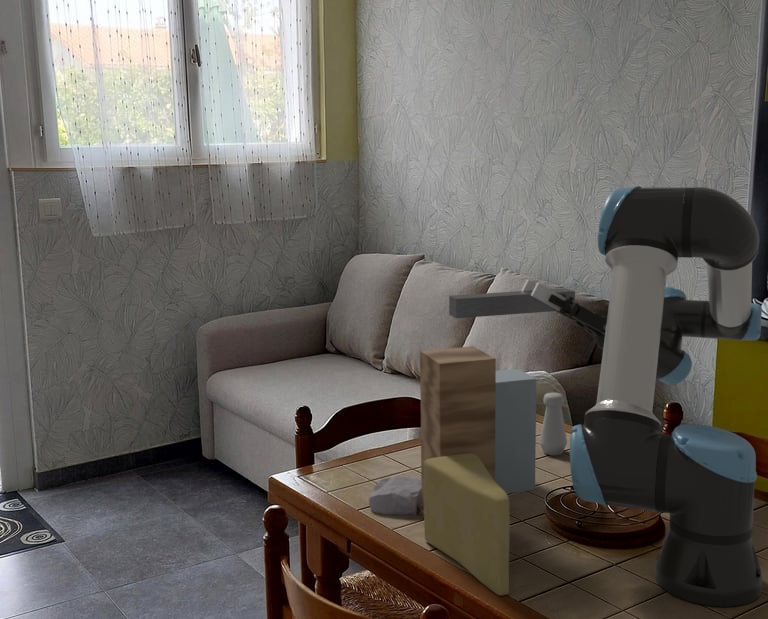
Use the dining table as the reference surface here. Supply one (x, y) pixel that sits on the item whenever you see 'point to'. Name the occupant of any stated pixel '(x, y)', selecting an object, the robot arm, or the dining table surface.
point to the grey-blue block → (515, 431)
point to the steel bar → (501, 303)
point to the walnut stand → (457, 405)
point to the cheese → (468, 517)
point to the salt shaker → (553, 425)
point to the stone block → (397, 495)
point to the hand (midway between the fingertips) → (529, 287)
